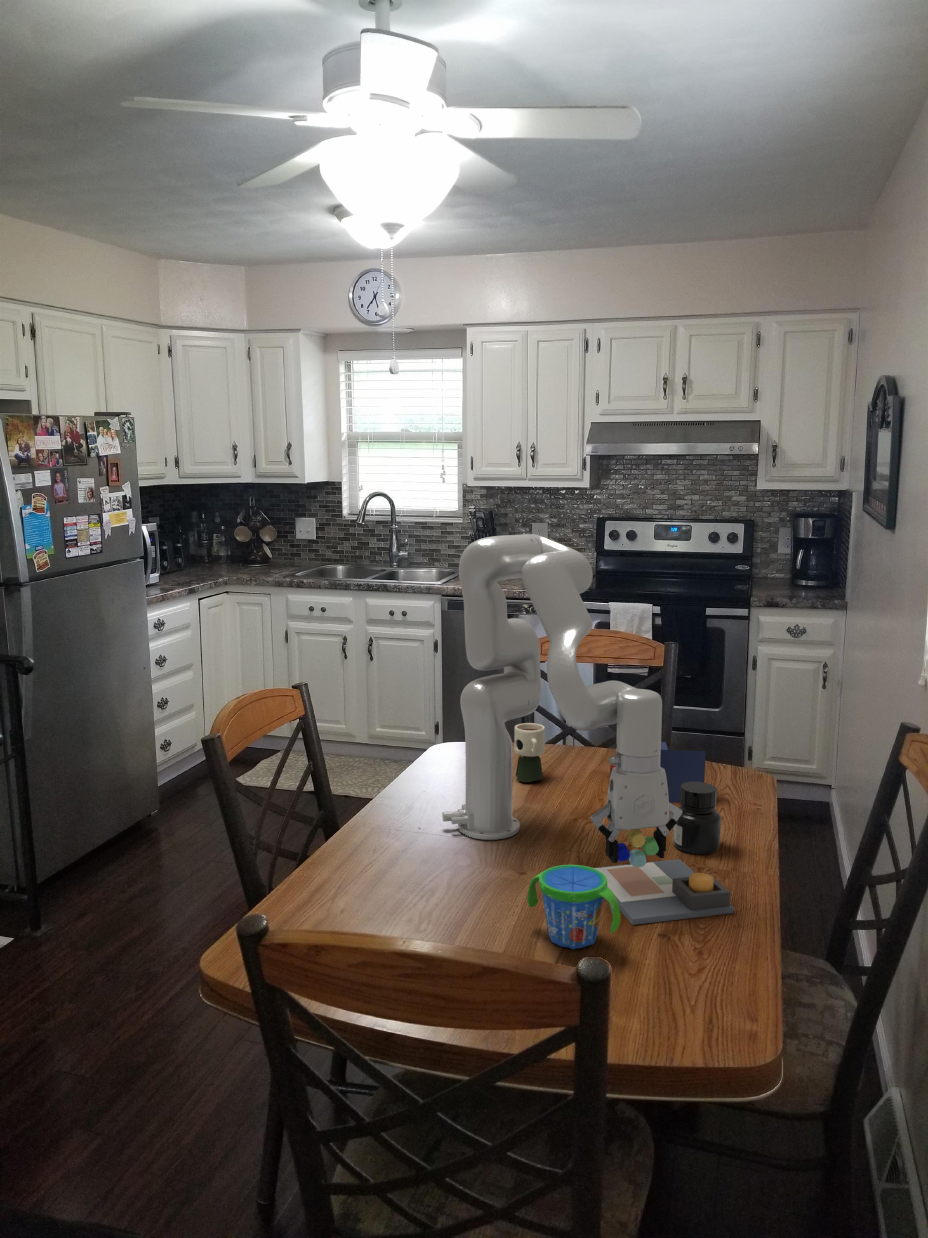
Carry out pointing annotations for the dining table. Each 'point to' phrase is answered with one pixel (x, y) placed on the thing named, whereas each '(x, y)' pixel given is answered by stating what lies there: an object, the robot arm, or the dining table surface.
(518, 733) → the character mug
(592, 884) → the snack cup
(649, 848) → the dice
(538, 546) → the robot arm
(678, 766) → the phone stand
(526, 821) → the dining table surface
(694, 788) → the ink bottle
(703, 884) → the button
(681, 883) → the colouring board
